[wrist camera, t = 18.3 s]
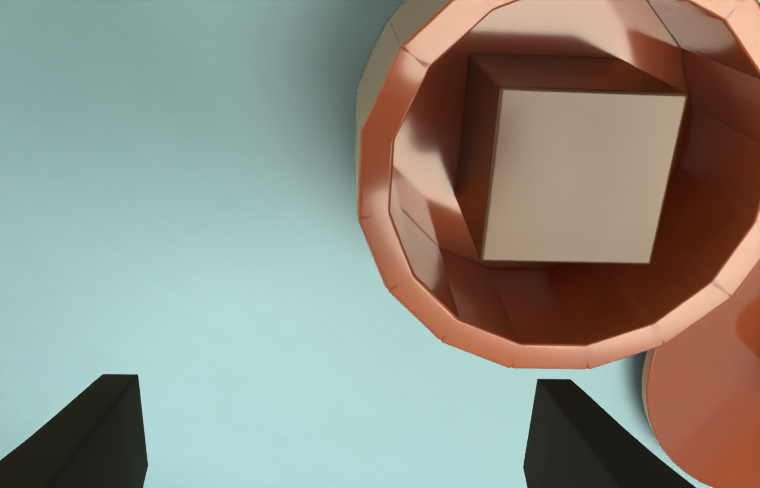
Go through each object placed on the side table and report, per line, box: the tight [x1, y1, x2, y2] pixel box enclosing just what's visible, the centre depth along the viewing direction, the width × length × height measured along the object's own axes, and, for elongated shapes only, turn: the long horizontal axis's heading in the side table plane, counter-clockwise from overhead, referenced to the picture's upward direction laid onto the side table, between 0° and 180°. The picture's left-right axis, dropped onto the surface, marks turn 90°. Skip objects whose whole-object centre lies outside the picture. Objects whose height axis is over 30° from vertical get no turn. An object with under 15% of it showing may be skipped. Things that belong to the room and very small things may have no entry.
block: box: [456, 53, 688, 265], centre depth 19 cm, size 4×4×4 cm
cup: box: [354, 0, 760, 369], centre depth 20 cm, size 11×11×5 cm
